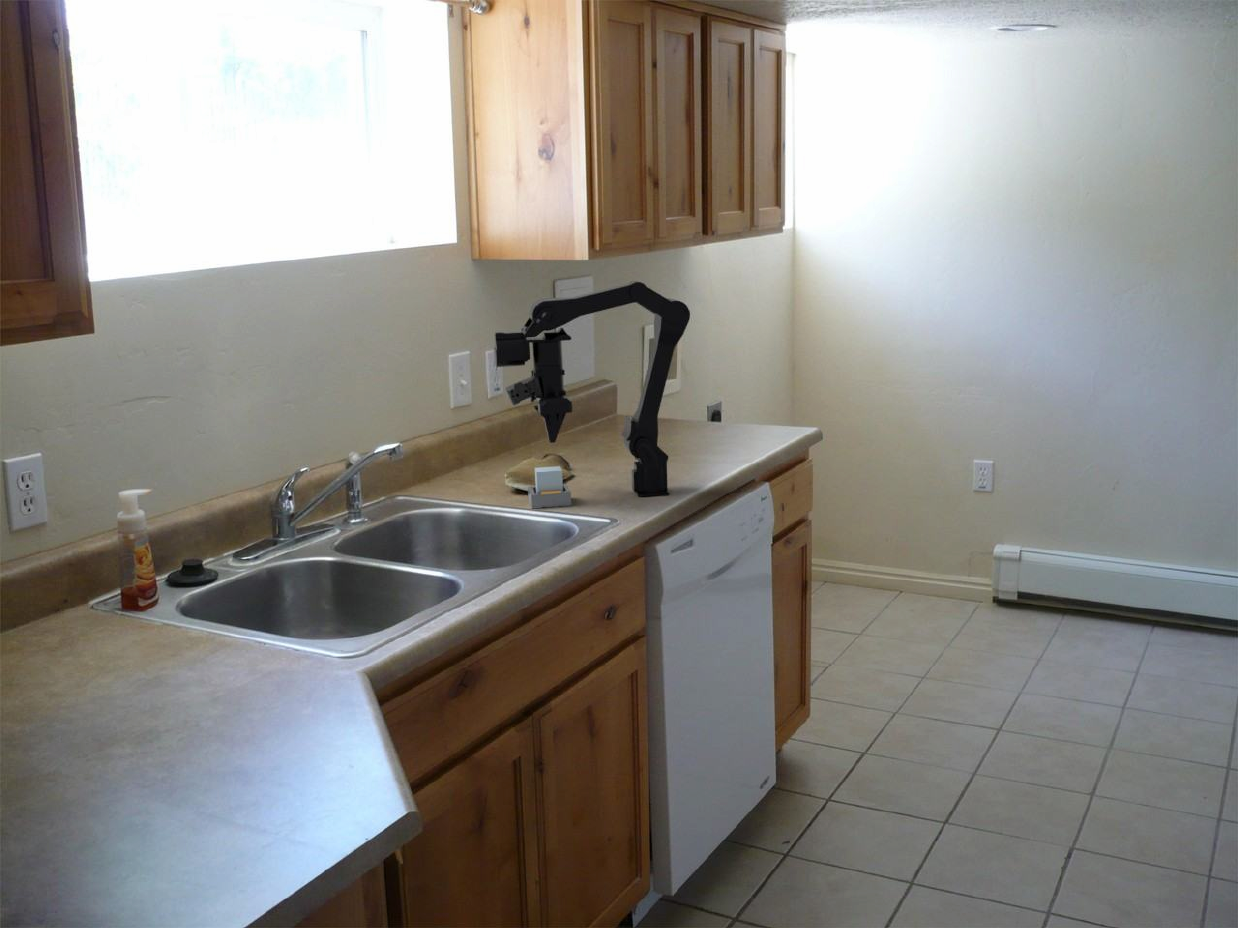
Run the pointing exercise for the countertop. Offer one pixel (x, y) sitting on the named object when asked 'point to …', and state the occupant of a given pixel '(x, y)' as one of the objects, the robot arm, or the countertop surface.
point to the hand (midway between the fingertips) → (552, 442)
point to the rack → (549, 497)
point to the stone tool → (525, 471)
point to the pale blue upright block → (548, 479)
